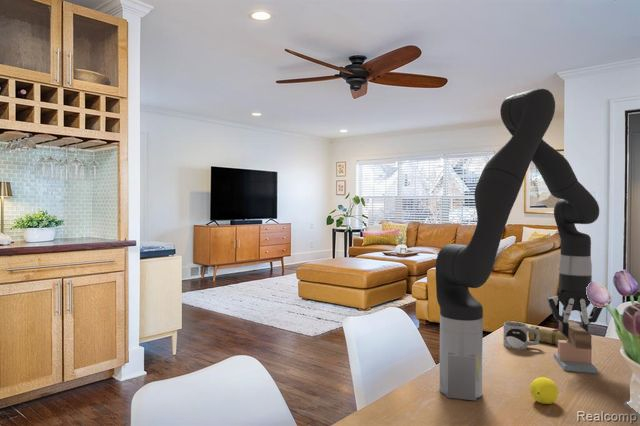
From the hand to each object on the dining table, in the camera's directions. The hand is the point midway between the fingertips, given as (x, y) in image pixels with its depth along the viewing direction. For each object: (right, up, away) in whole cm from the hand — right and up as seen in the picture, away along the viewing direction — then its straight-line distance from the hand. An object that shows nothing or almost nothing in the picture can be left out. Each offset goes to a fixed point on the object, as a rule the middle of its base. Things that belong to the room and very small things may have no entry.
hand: (574, 336), depth 120 cm
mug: (-7, -8, +15) cm, 19 cm away
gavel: (+9, -8, +26) cm, 28 cm away
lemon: (-20, -8, -24) cm, 32 cm away
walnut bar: (0, -1, 0) cm, 1 cm away
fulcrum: (0, -8, 0) cm, 8 cm away
